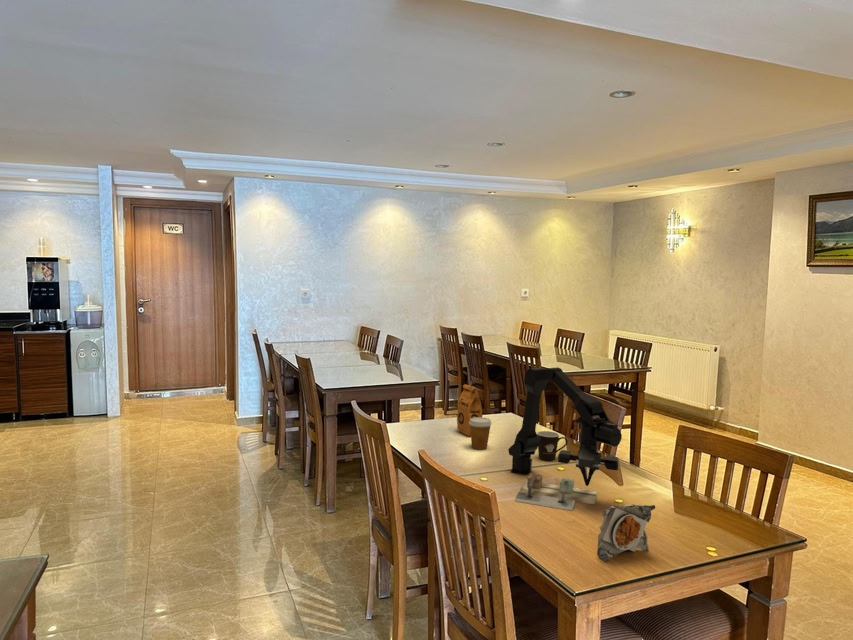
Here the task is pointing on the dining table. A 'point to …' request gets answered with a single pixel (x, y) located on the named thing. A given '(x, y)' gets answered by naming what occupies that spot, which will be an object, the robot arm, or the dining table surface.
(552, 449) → the coffee mug
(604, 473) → the dining table surface
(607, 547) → the meal
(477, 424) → the disposable coffee cup
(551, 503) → the bolt hole plate
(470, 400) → the coffee package
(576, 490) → the board
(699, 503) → the dining table surface
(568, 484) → the slider leg
